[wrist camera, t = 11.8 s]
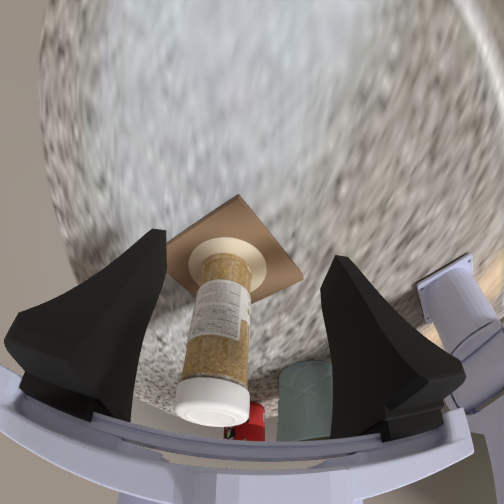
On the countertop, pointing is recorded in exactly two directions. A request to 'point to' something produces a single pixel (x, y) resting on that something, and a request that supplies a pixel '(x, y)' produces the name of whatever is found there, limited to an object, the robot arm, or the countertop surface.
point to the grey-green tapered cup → (305, 402)
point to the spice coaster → (232, 250)
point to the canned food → (249, 426)
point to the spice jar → (218, 346)
